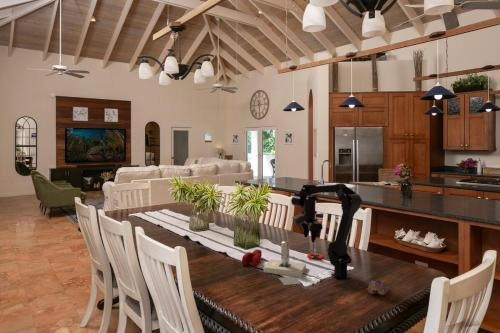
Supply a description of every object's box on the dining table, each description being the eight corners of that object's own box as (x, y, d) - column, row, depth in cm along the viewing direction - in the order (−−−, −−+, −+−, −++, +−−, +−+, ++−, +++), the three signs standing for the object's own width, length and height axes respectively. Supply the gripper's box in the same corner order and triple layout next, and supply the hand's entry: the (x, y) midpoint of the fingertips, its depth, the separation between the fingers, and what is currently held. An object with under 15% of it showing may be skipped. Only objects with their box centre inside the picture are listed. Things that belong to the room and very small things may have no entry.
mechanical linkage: (255, 268, 174) (255, 258, 173) (241, 266, 176) (241, 256, 176) (265, 258, 188) (265, 249, 188) (253, 256, 191) (253, 247, 191)
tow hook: (307, 255, 195) (307, 259, 186) (307, 231, 194) (307, 235, 185) (322, 255, 193) (323, 260, 184) (323, 232, 193) (323, 236, 184)
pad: (301, 283, 154) (301, 283, 154) (284, 285, 152) (284, 284, 152) (295, 276, 162) (295, 276, 162) (278, 278, 160) (278, 278, 160)
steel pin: (288, 272, 167) (288, 243, 167) (280, 271, 168) (280, 242, 167) (289, 269, 171) (289, 241, 170) (281, 268, 172) (282, 240, 171)
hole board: (305, 268, 173) (305, 263, 172) (301, 277, 161) (301, 271, 161) (270, 264, 178) (270, 259, 178) (263, 272, 167) (263, 267, 167)
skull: (376, 286, 151) (377, 272, 151) (394, 291, 146) (395, 276, 146) (363, 294, 143) (364, 280, 142) (382, 300, 137) (382, 285, 137)
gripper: (288, 206, 182) (287, 235, 183) (301, 213, 164) (300, 246, 165) (308, 205, 185) (307, 234, 186) (323, 212, 167) (322, 244, 168)
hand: (309, 239), depth 176 cm, fingers open, 9 cm apart
